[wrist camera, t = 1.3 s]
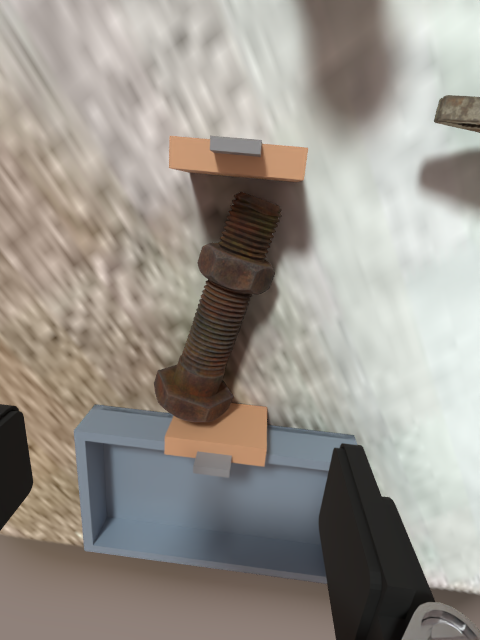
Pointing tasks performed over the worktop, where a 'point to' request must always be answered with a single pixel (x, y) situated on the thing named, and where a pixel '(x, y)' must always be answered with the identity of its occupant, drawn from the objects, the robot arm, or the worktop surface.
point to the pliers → (459, 112)
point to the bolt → (220, 311)
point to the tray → (202, 498)
